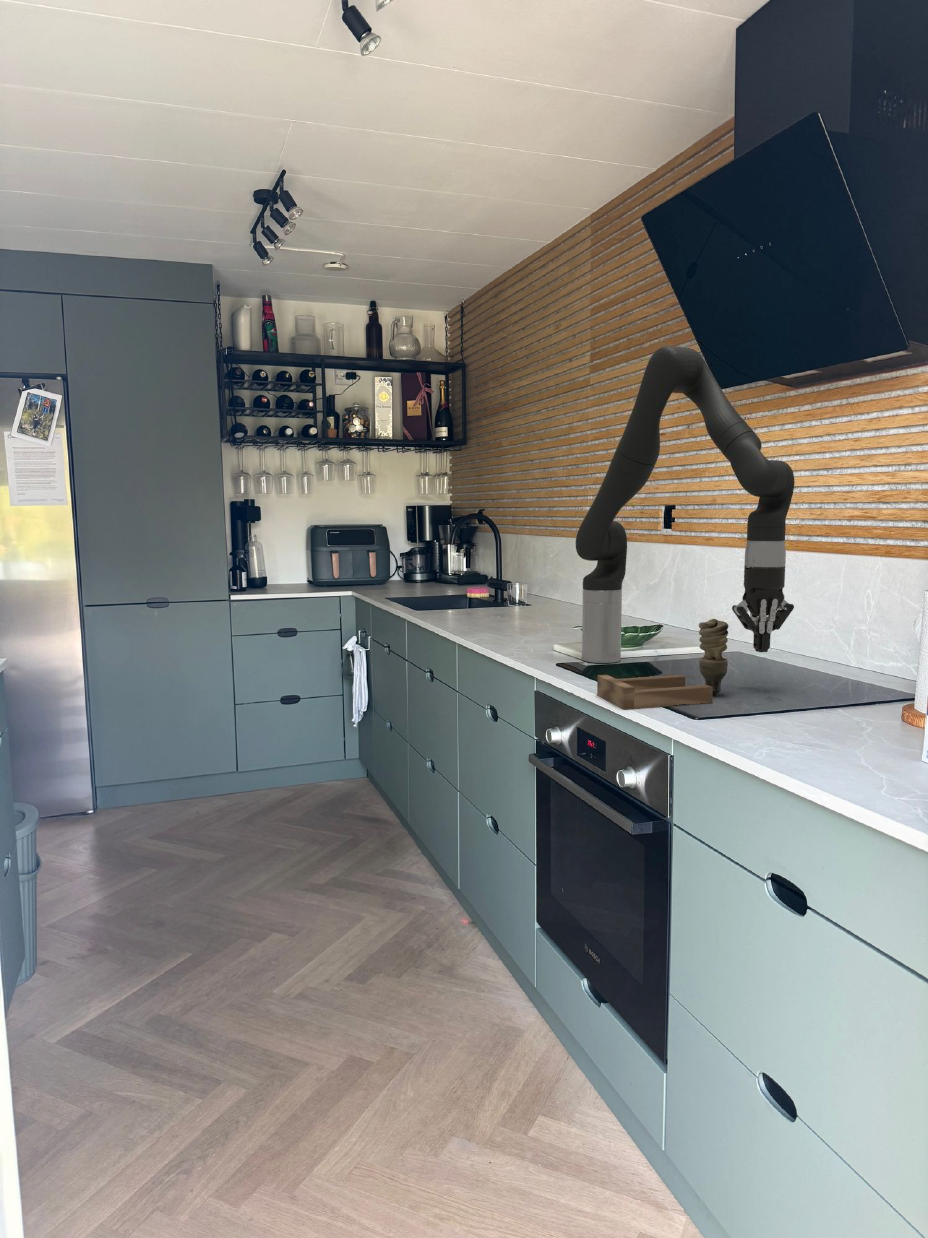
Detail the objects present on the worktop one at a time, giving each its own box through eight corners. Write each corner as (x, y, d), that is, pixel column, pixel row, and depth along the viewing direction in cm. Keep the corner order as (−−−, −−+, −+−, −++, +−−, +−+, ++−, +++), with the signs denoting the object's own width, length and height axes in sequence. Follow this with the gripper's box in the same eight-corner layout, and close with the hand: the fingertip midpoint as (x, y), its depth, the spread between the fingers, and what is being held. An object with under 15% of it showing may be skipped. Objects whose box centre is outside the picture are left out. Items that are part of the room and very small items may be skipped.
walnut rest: (597, 695, 161) (597, 675, 160) (679, 689, 165) (680, 669, 165) (624, 709, 149) (624, 688, 149) (712, 702, 154) (712, 681, 153)
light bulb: (693, 696, 159) (696, 619, 157) (699, 690, 164) (702, 616, 162) (723, 699, 157) (726, 621, 155) (729, 693, 162) (731, 617, 160)
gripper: (782, 561, 165) (778, 646, 167) (723, 563, 162) (721, 650, 164) (806, 564, 158) (802, 653, 160) (746, 566, 155) (742, 656, 157)
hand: (761, 651), depth 162 cm, fingers closed
